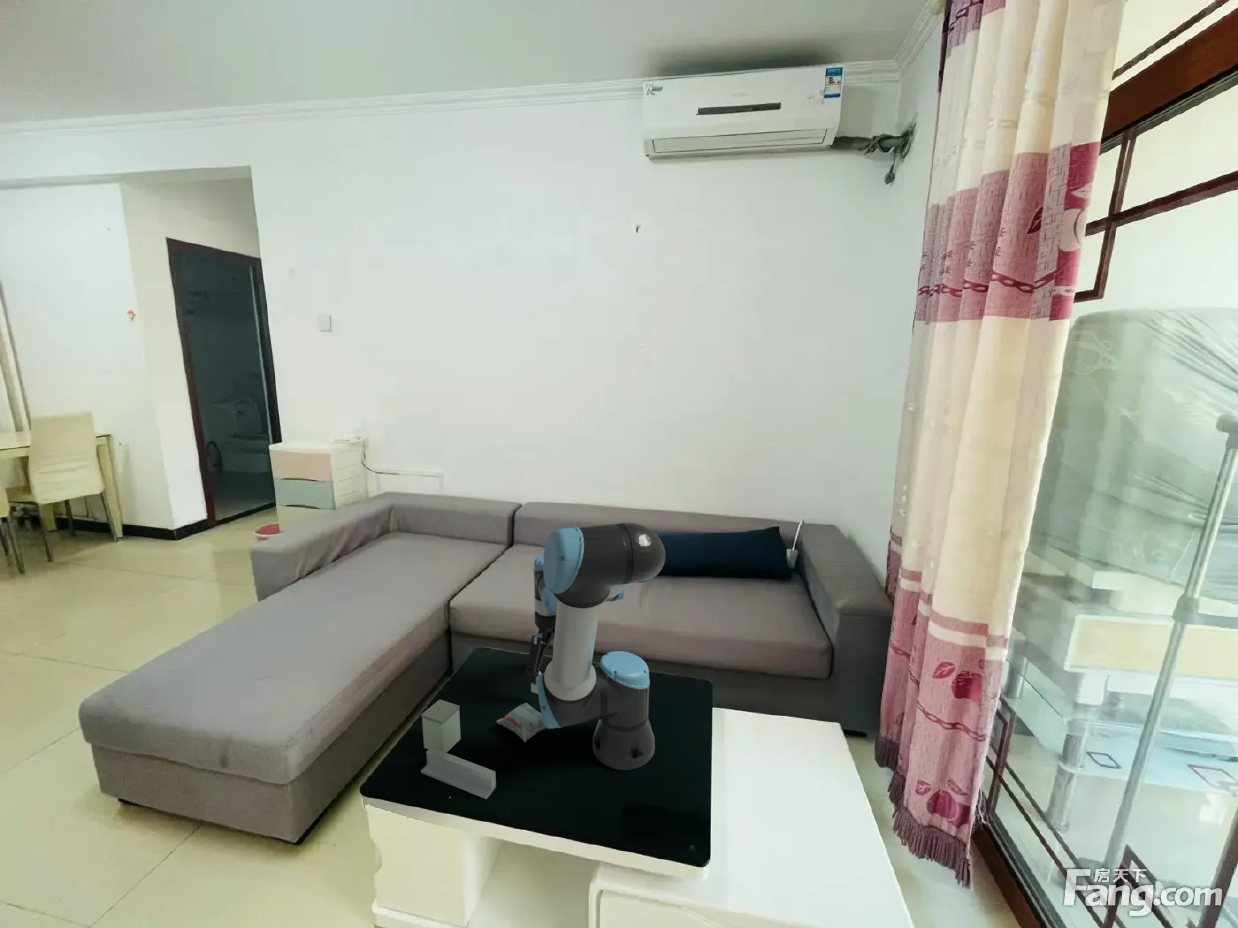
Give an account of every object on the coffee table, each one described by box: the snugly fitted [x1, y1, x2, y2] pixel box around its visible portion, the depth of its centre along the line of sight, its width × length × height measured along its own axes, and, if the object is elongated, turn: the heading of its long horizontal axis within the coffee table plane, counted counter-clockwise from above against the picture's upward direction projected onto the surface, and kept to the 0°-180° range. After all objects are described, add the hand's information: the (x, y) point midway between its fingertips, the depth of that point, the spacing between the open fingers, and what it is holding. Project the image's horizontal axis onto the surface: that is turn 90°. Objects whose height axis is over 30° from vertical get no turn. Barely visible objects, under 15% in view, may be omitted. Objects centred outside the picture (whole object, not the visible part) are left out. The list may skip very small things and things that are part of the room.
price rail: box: [420, 747, 497, 800], centre depth 114 cm, size 18×4×4 cm, turn 67°
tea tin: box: [420, 699, 462, 753], centre depth 124 cm, size 6×6×9 cm
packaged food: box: [496, 702, 547, 743], centre depth 129 cm, size 9×12×5 cm
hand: (548, 678), depth 146 cm, fingers open, 13 cm apart
